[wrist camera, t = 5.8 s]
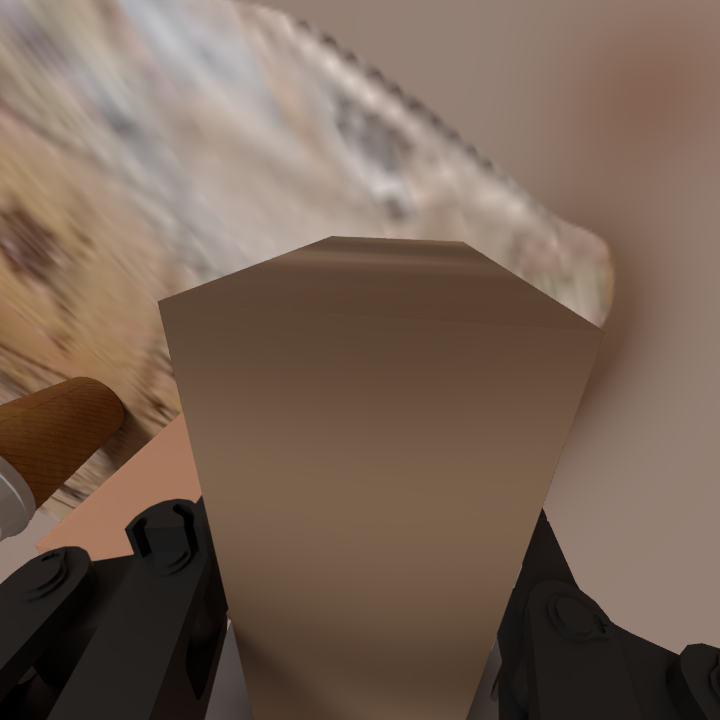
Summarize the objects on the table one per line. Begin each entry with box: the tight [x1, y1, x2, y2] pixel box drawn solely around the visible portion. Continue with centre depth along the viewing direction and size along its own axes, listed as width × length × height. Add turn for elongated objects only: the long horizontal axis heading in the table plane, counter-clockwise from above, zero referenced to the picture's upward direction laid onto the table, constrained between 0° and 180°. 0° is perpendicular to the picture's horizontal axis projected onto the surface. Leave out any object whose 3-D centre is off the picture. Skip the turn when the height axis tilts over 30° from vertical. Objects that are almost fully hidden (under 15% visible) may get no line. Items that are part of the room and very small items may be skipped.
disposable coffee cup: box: [0, 377, 125, 541], centre depth 27 cm, size 10×10×12 cm
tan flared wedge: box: [158, 236, 605, 720], centre depth 9 cm, size 13×9×8 cm
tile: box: [35, 412, 202, 561], centre depth 24 cm, size 2×12×14 cm, turn 88°
